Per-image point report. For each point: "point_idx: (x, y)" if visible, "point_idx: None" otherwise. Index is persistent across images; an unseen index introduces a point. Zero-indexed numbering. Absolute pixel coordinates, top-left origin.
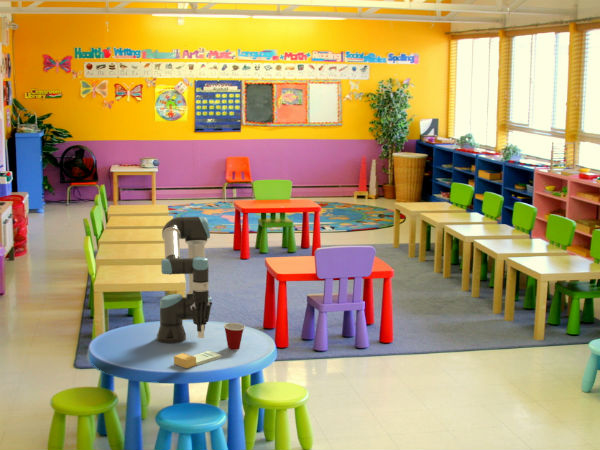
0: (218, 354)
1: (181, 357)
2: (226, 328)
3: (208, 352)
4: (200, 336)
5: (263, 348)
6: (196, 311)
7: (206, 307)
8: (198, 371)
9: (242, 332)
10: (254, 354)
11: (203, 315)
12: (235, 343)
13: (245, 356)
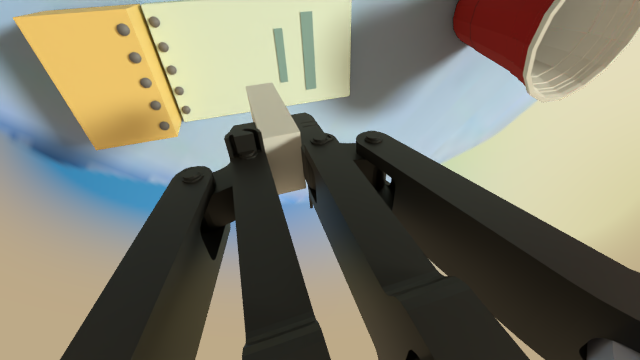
0: (343, 84)
1: (74, 90)
2: (537, 33)
3: (328, 19)
4: (253, 121)
5: (515, 100)
6: (248, 334)
7: (548, 300)
8: (162, 179)
9: (553, 71)
10: (446, 134)
11: (342, 270)
12: (478, 51)
13: (413, 134)
